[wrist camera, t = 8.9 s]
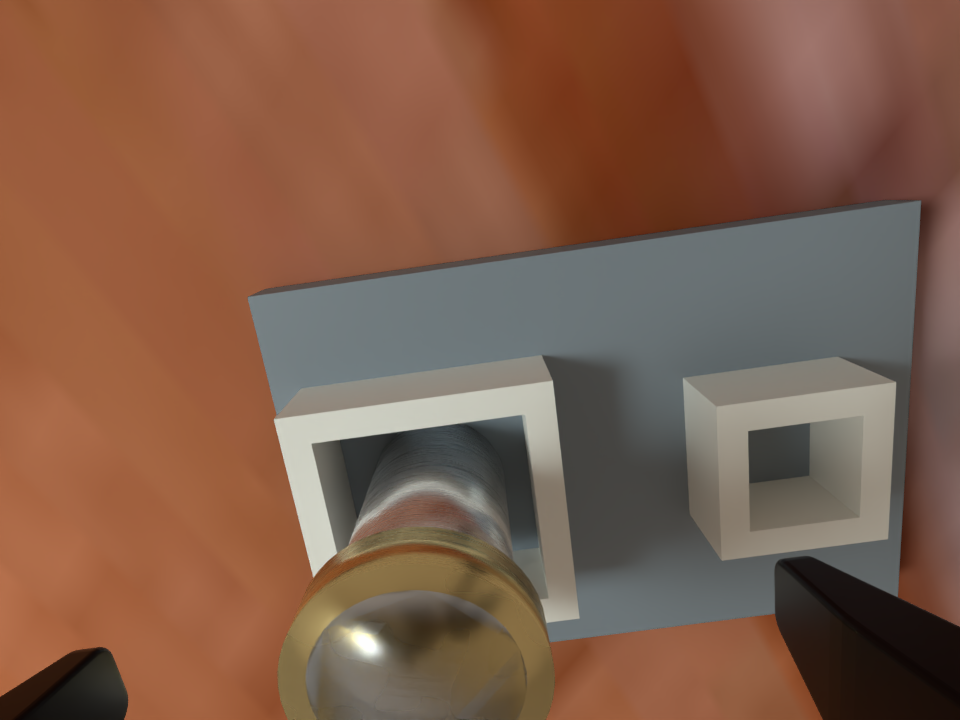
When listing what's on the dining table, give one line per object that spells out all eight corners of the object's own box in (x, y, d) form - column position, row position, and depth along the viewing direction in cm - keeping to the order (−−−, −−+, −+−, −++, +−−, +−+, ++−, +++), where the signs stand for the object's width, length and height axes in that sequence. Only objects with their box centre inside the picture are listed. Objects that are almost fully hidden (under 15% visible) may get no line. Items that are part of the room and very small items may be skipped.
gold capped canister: (509, 393, 18) (538, 546, 10) (528, 539, 19) (567, 774, 11) (345, 416, 18) (247, 585, 10) (375, 559, 19) (310, 805, 11)
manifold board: (884, 200, 18) (998, 201, 14) (868, 570, 21) (956, 654, 17) (265, 289, 18) (209, 314, 14) (348, 637, 22) (322, 732, 18)
